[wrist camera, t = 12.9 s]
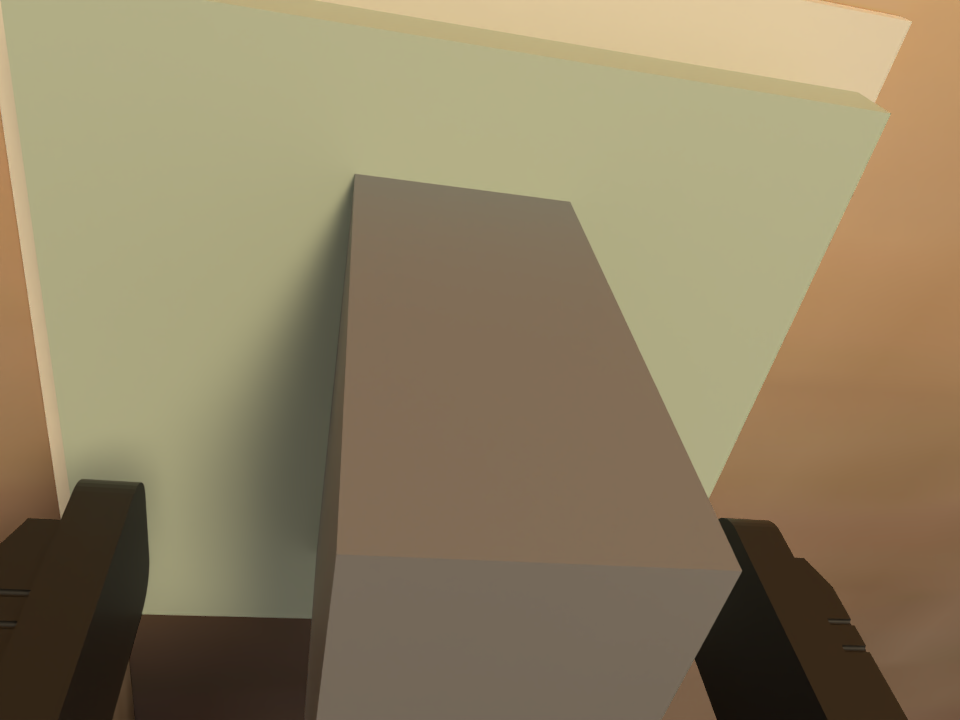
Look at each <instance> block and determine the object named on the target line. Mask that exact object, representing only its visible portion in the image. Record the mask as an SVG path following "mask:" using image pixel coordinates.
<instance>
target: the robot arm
mask: <svg viewBox="0 0 960 720" xmlns="http://www.w3.org/2000/svg"><path fill="white" fill-rule="evenodd" d="M718 520H719V522H720V524H721V527H722V529H723V531H724V533H725V535H726V537H727V539H728V542H729V544H730V546H731V548H732V550H733V552H734V554H735V557H736V559H737V561H738V563H739V565H740V567H741V569H742V572H741V574H740V576H739V578H738V580H737V582H736V583H735V585H734V587H733V589H732V591H731V593H730V594H729V596H728V598H727V600H726V602H725V604H724V605H723V607H722V609H721V611H720V613H719V615H718V616H717V618H716V620H715V622H714V624H713V626H712V628H711V629H710V631H709V633H708V635H707V637H706V639H705V640H704V642H703V644H702V646H701V648H700V650H699V651H698V653H697V655H696V657H695V661H696V664H697V666H698V669H699V672H700V675H701V677H702V680H703V683H704V686H705V688H706V691H707V694H708V696H709V699H710V702H711V705H712V707H713V710H714V713H715V716H716V718H717V720H908V719H907V717H906V715H905V714H904V712H903V710H902V708H901V707H900V705H899V703H898V701H897V700H896V698H895V696H894V694H893V693H892V691H891V689H890V687H889V686H888V684H887V682H886V680H885V678H884V677H883V675H882V673H881V671H880V670H879V668H878V666H877V664H876V663H875V661H874V659H873V657H872V656H871V654H870V652H866V650H865V646H866V645H865V643H864V642H863V640H862V638H861V636H860V635H859V633H858V631H857V629H856V627H855V626H852V625H851V624H850V620H851V619H850V617H849V615H848V613H847V612H846V610H845V608H844V606H843V605H842V603H841V601H840V599H839V598H838V596H837V594H836V592H835V591H834V589H833V587H832V586H831V585H830V584H829V583H828V582H827V581H826V580H825V579H824V578H823V577H822V576H821V575H820V574H819V573H818V572H817V571H816V570H815V569H814V568H813V567H812V566H811V565H810V564H809V563H808V562H807V561H806V560H805V559H804V558H794V556H793V554H792V553H791V551H790V549H789V547H788V545H787V543H786V541H785V540H784V538H783V536H782V534H781V532H780V531H779V529H778V527H777V526H776V525H775V524H774V523H772V522H770V521H766V520H749V519H732V518H720V519H718ZM148 579H149V544H148V528H147V512H146V496H145V487H144V484H143V483H142V482H128V481H110V480H93V479H81V480H79V481H78V482H77V484H76V485H75V487H74V489H73V492H72V494H71V496H70V499H69V501H68V503H67V506H66V508H65V511H64V513H63V515H62V518H61V520H51V519H31V518H28V519H27V520H26V521H25V522H24V523H23V524H22V525H21V526H19V527H18V528H17V529H16V530H15V531H14V532H13V533H12V534H11V535H10V536H9V537H8V538H6V539H5V540H4V541H3V542H2V543H1V544H0V720H112V719H113V716H114V712H115V708H116V705H117V701H118V698H119V694H120V690H121V687H122V683H123V680H124V676H125V672H126V669H127V665H128V662H129V658H130V654H131V651H132V647H133V644H134V640H135V637H136V633H137V629H138V626H139V622H140V619H141V615H142V611H143V608H144V603H145V599H146V593H147V587H148Z"/></svg>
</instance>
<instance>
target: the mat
mask: <svg viewBox="0 0 960 720" xmlns="http://www.w3.org/2000/svg"><path fill="white" fill-rule="evenodd" d="M316 1H322V2H328V3H334V4H340V5H346V6H351V7H357V8H363V9H369V10H375V11H381V12H387V13H393V14H399V15H405V16H410V17H416V18H422V19H428V20H434V21H440V22H446V23H452V24H458V25H464V26H470V27H475V28H481V29H487V30H493V31H499V32H505V33H511V34H517V35H523V36H529V37H535V38H540V39H546V40H552V41H558V42H564V43H570V44H576V45H582V46H588V47H594V48H599V49H605V50H611V51H617V52H623V53H629V54H635V55H641V56H647V57H653V58H659V59H664V60H670V61H676V62H682V63H688V64H694V65H700V66H706V67H712V68H718V69H724V70H729V71H735V72H741V73H747V74H753V75H759V76H765V77H771V78H777V79H783V80H789V81H794V82H800V83H806V84H812V85H818V86H824V87H830V88H836V89H842V90H848V91H853V92H858V93H860V94H861V95H863V96H865V97H866V98H868V99H869V100H871V101H872V102H874V103H875V101H876V99H877V97H878V94H879V92H880V90H881V88H882V86H883V84H884V82H885V79H886V77H887V75H888V73H889V71H890V69H891V66H892V64H893V62H894V60H895V58H896V56H897V53H898V51H899V49H900V47H901V45H902V43H903V40H904V38H905V36H906V34H907V32H908V30H909V27H910V25H911V23H912V22H911V21H909V20H907V19H905V18H903V17H900V16H897V15H892V14H887V13H881V12H876V11H871V10H866V9H861V8H856V7H851V6H846V5H841V4H836V3H831V2H826V1H821V0H316ZM0 108H1V115H2V122H3V129H4V136H5V143H6V149H7V156H8V163H9V170H10V177H11V183H12V190H13V197H14V204H15V211H16V217H17V224H18V231H19V238H20V245H21V252H22V258H23V265H24V272H25V279H26V286H27V292H28V299H29V306H30V313H31V320H32V326H33V333H34V340H35V347H36V354H37V360H38V367H39V374H40V381H41V388H42V395H43V401H44V408H45V415H46V422H47V429H48V435H49V442H50V449H51V456H52V463H53V469H54V476H55V483H56V490H57V497H58V504H59V510H60V517H61V518H62V515H63V513H64V511H65V508H66V506H67V503H68V501H69V499H70V491H69V483H68V476H67V469H66V462H65V455H64V448H63V441H62V434H61V427H60V420H59V413H58V405H57V398H56V391H55V384H54V377H53V370H52V363H51V356H50V349H49V342H48V334H47V327H46V320H45V313H44V306H43V299H42V292H41V285H40V278H39V271H38V264H37V256H36V249H35V242H34V235H33V228H32V221H31V214H30V207H29V200H28V193H27V185H26V178H25V171H24V164H23V157H22V150H21V143H20V136H19V129H18V122H17V115H16V107H15V100H14V93H13V86H12V79H11V72H10V65H9V58H8V51H7V44H6V36H5V29H4V22H3V15H2V8H1V1H0Z"/></svg>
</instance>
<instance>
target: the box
mask: <svg viewBox="0 0 960 720" xmlns="http://www.w3.org/2000/svg"><path fill="white" fill-rule="evenodd" d="M112 720H135V717H134V706H133V696H132V685H131V674H130V663H129V662H128V665H127V669H126V672H125V676H124V680H123V683H122V687H121V690H120V694H119V698H118V701H117V705H116V708H115V712H114V716H113V719H112Z"/></svg>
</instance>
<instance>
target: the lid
mask: <svg viewBox="0 0 960 720" xmlns="http://www.w3.org/2000/svg"><path fill="white" fill-rule="evenodd" d="M0 1H1V8H2V15H3V22H4V29H5V36H6V44H7V51H8V58H9V65H10V72H11V79H12V86H13V93H14V100H15V107H16V115H17V122H18V129H19V136H20V143H21V150H22V157H23V164H24V171H25V178H26V185H27V193H28V200H29V207H30V214H31V221H32V228H33V235H34V242H35V249H36V256H37V264H38V271H39V278H40V285H41V292H42V299H43V306H44V313H45V320H46V327H47V334H48V342H49V349H50V356H51V363H52V370H53V377H54V384H55V391H56V398H57V405H58V413H59V420H60V427H61V434H62V441H63V448H64V455H65V462H66V469H67V476H68V483H69V491H70V496H71V494H72V492H73V489H74V487H75V485H76V484H77V482H78V481H79V480H81V479H93V480H110V481H128V482H142V483H143V484H144V487H145V496H146V512H147V528H148V544H149V579H148V587H147V593H146V599H145V603H144V608H143V611H142V614H152V615H191V616H229V617H268V618H307V619H312V620H311V634H310V647H309V661H308V674H307V688H306V701H305V715H304V720H662V718H663V716H664V714H665V712H666V710H667V708H668V707H669V705H670V703H671V701H672V699H673V697H674V696H675V694H676V692H677V690H678V688H679V686H680V685H681V683H682V681H683V679H684V677H685V675H686V674H687V672H688V670H689V668H690V666H691V664H692V662H693V661H694V659H695V657H696V655H697V653H698V651H699V650H700V648H701V646H702V644H703V642H704V640H705V639H706V637H707V635H708V633H709V631H710V629H711V628H712V626H713V624H714V622H715V620H716V618H717V616H718V615H719V613H720V611H721V609H722V607H723V605H724V604H725V602H726V600H727V598H728V596H729V594H730V593H731V591H732V589H733V587H734V585H735V583H736V582H737V580H738V578H739V576H740V574H741V572H742V569H741V567H740V565H739V563H738V561H737V559H736V557H735V554H734V552H733V550H732V548H731V546H730V544H729V542H728V539H727V537H726V535H725V533H724V531H723V529H722V527H721V524H720V522H719V520H718V518H717V516H716V514H715V512H714V509H713V507H712V505H711V503H710V501H709V497H710V495H711V493H712V491H713V488H714V486H715V484H716V482H717V480H718V478H719V476H720V474H721V472H722V469H723V467H724V465H725V463H726V461H727V459H728V457H729V455H730V453H731V450H732V448H733V446H734V444H735V442H736V440H737V438H738V436H739V434H740V431H741V429H742V427H743V425H744V423H745V421H746V419H747V417H748V415H749V412H750V410H751V408H752V406H753V404H754V402H755V400H756V398H757V396H758V393H759V391H760V389H761V387H762V385H763V383H764V381H765V379H766V377H767V374H768V372H769V370H770V368H771V366H772V364H773V362H774V360H775V357H776V355H777V353H778V351H779V349H780V347H781V345H782V343H783V341H784V338H785V336H786V334H787V332H788V330H789V328H790V326H791V324H792V322H793V319H794V317H795V315H796V313H797V311H798V309H799V307H800V305H801V303H802V300H803V298H804V296H805V294H806V292H807V290H808V288H809V286H810V284H811V281H812V279H813V277H814V275H815V273H816V271H817V269H818V267H819V265H820V262H821V260H822V258H823V256H824V254H825V252H826V250H827V248H828V246H829V243H830V241H831V239H832V237H833V235H834V233H835V231H836V229H837V226H838V224H839V222H840V220H841V218H842V216H843V214H844V212H845V210H846V207H847V205H848V203H849V201H850V199H851V197H852V195H853V193H854V191H855V188H856V186H857V184H858V182H859V180H860V178H861V176H862V174H863V172H864V169H865V167H866V165H867V163H868V161H869V159H870V157H871V155H872V153H873V150H874V148H875V146H876V144H877V142H878V140H879V138H880V136H881V134H882V131H883V129H884V127H885V125H886V123H887V121H888V119H889V117H890V115H891V113H889V112H888V111H886V110H885V109H883V108H882V107H880V106H878V105H877V104H875V103H874V102H872V101H871V100H869V99H868V98H866V97H865V96H863V95H861V94H860V93H858V92H853V91H848V90H842V89H836V88H830V87H824V86H818V85H812V84H806V83H800V82H794V81H789V80H783V79H777V78H771V77H765V76H759V75H753V74H747V73H741V72H735V71H729V70H724V69H718V68H712V67H706V66H700V65H694V64H688V63H682V62H676V61H670V60H664V59H659V58H653V57H647V56H641V55H635V54H629V53H623V52H617V51H611V50H605V49H599V48H594V47H588V46H582V45H576V44H570V43H564V42H558V41H552V40H546V39H540V38H535V37H529V36H523V35H517V34H511V33H505V32H499V31H493V30H487V29H481V28H475V27H470V26H464V25H458V24H452V23H446V22H440V21H434V20H428V19H422V18H416V17H410V16H405V15H399V14H393V13H387V12H381V11H375V10H369V9H363V8H357V7H351V6H346V5H340V4H334V3H328V2H322V1H316V0H0Z"/></svg>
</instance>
